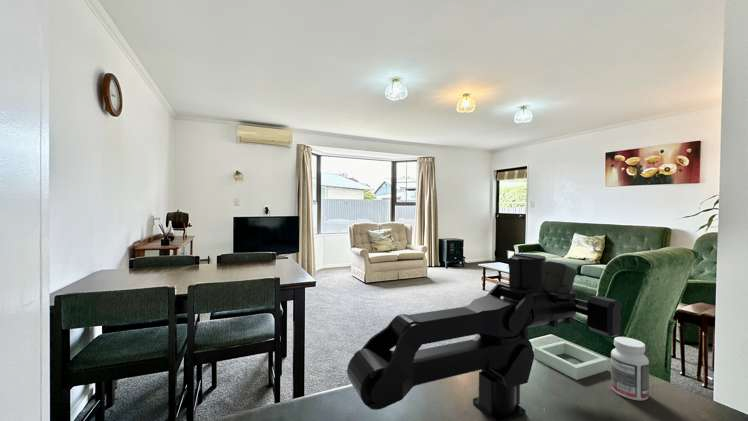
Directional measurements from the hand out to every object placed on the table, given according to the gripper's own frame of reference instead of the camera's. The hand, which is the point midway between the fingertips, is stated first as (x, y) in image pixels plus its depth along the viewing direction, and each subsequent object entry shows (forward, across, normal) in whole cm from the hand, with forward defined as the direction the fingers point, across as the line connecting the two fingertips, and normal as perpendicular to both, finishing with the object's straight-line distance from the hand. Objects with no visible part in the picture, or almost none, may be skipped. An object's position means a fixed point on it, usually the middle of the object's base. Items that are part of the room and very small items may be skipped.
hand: (592, 299), depth 66 cm
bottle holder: (+2, +6, +16) cm, 18 cm away
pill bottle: (+2, -6, +17) cm, 18 cm away
